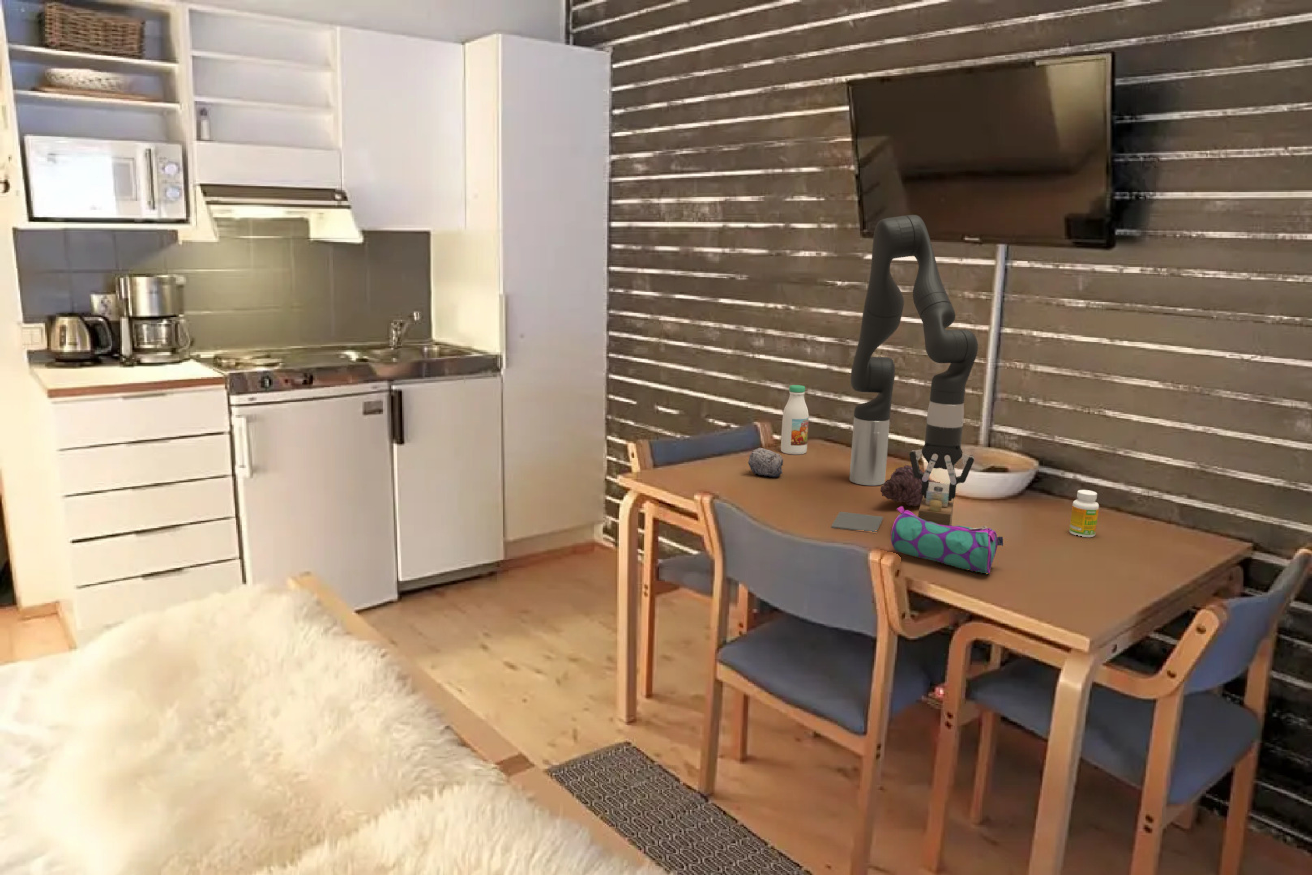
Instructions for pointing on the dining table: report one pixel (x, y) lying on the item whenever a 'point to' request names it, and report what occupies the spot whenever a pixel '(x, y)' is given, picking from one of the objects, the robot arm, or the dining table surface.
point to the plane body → (936, 512)
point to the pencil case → (945, 542)
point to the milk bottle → (795, 422)
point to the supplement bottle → (1084, 514)
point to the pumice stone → (765, 462)
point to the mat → (857, 522)
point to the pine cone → (904, 487)
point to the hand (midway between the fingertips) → (937, 498)
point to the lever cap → (938, 493)
